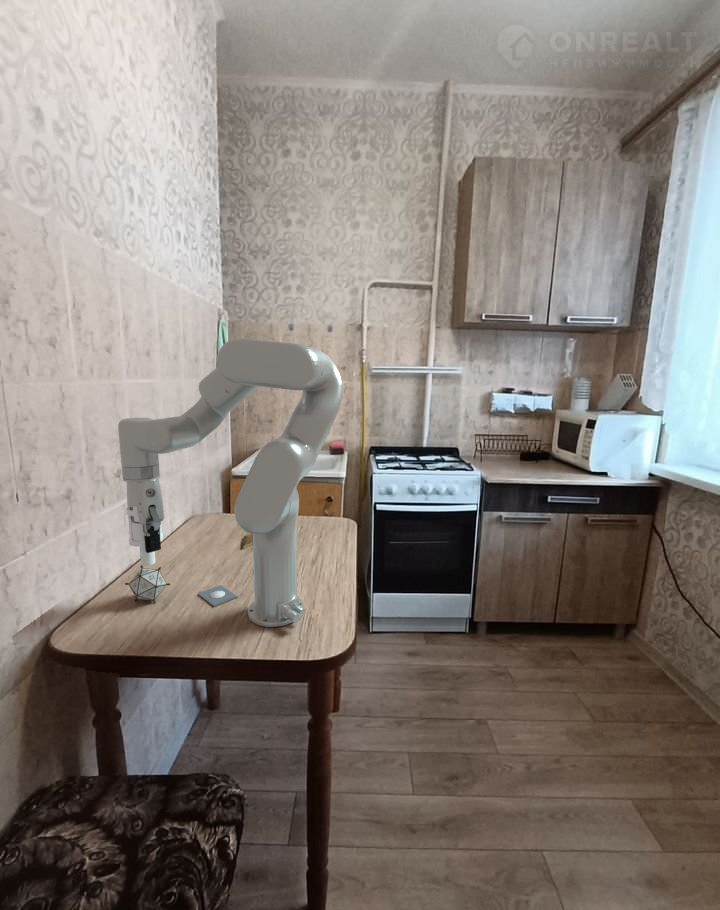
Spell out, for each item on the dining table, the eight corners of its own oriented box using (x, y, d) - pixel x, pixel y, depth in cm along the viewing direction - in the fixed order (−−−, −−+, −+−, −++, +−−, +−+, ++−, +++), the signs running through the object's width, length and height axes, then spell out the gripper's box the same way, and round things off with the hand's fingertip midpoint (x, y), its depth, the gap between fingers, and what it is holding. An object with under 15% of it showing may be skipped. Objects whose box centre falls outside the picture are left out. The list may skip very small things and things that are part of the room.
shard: (242, 551, 129) (242, 545, 129) (227, 545, 134) (227, 540, 134) (269, 541, 138) (269, 535, 138) (254, 535, 142) (254, 530, 142)
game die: (143, 612, 100) (129, 574, 103) (178, 595, 103) (164, 558, 105) (129, 613, 92) (115, 572, 94) (168, 594, 94) (152, 554, 97)
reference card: (237, 597, 100) (237, 595, 100) (214, 607, 96) (213, 605, 96) (220, 586, 106) (220, 584, 106) (198, 594, 102) (198, 592, 101)
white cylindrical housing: (125, 569, 94) (119, 506, 92) (140, 556, 101) (136, 497, 98) (156, 569, 94) (151, 506, 92) (169, 556, 101) (165, 497, 99)
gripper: (173, 475, 91) (179, 552, 94) (144, 464, 102) (149, 533, 105) (137, 481, 85) (143, 562, 88) (110, 469, 97) (117, 540, 100)
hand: (147, 545), depth 97 cm, fingers closed on white cylindrical housing, 6 cm apart
